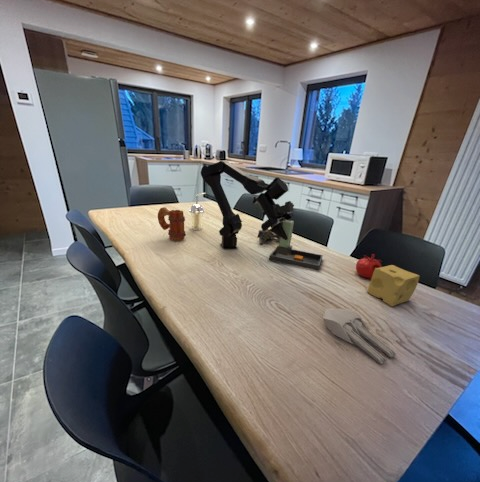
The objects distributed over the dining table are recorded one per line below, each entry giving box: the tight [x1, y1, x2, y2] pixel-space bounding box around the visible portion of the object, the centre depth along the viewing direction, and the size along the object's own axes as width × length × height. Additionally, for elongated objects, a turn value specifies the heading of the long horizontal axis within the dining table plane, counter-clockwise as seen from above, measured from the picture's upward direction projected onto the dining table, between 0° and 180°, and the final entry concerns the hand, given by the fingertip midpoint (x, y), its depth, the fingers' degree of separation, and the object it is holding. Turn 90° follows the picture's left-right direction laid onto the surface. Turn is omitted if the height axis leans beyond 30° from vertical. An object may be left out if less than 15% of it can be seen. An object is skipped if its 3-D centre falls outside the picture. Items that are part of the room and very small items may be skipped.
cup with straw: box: [188, 192, 207, 231], centre depth 146 cm, size 8×9×20 cm
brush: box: [275, 220, 295, 256], centre depth 109 cm, size 5×5×14 cm
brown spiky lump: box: [256, 227, 280, 245], centre depth 137 cm, size 12×11×15 cm
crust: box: [294, 255, 303, 262], centre depth 117 cm, size 4×4×2 cm
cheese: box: [367, 264, 421, 307], centre depth 92 cm, size 10×11×10 cm
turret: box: [322, 307, 396, 365], centre depth 71 cm, size 10×20×5 cm, turn 33°
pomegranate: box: [355, 253, 383, 280], centre depth 107 cm, size 10×10×9 cm
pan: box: [268, 246, 324, 271], centre depth 117 cm, size 21×13×3 cm, turn 68°
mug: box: [157, 206, 187, 242], centre depth 130 cm, size 15×8×15 cm, turn 71°
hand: (288, 238), depth 108 cm, fingers closed on brush, 3 cm apart
